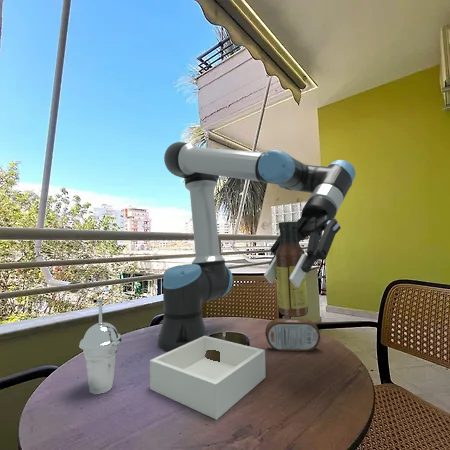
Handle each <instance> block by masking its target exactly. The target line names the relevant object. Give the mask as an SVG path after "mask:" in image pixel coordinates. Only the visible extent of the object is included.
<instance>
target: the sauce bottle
mask: <svg viewBox="0 0 450 450" xmlns="http://www.w3.org/2000/svg"><path fill="white" fill-rule="evenodd" d="M297 221H298V220H297ZM297 221H296V220H295V221H292V220H291V221H289V220H288V221H280V222H278V229H279V236H280V245H279V247H278V249H277V251H276V273H277V277H276V283H277V284H276V285H277V287H276V289H277V303H278V305H277V306H278V309H279V313H280V314H281V315H282V316H283V317H284V316H286V317H291V318H299V317H305V316H306V315H308V313H309V308H308V307H309V297H308V287H307V286H308V284H307V273H306V274H305V276H304V278H303V280H302V282H301V284H300V286H299V288H298V287H295V286H294V284H293V283H292V282H291V280H290V279H289V278H290V276H291V274H292V272H293V270H294V269H295V267H296V265H297V263H298V261H299V259H300V258H301V256H302V254H305V253H304V249H303V248H302V247H301V245H300V242H298V237H297V228H298V224H297Z"/></svg>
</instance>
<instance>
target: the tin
mask: <svg viewBox="0 0 450 450" xmlns="http://www.w3.org/2000/svg"><path fill="white" fill-rule="evenodd" d="M264 333H265V338H266V341H267V343H268V345H269V346H270V347H271V348H272V349H274V350H276V351H280V352H283V351H284V352H311V351H313V350H315V349H316V348H317V347H318V345H320V344H319V343H320V341H321V333H320V330H319V328H318V326H317V325H316V323H315V322H313V321H312V320H310V319H306V318H275V319H273V320H271V321H269V322H268V324H267V325H266V327H265V331H264Z"/></svg>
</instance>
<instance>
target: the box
mask: <svg viewBox="0 0 450 450" xmlns="http://www.w3.org/2000/svg"><path fill="white" fill-rule="evenodd" d="M207 350H216V351H219V352H220V362H218V361H213V360H210V359H207V358H206V357H205V354H206V351H207ZM266 371H267V370H266V350H265V349H263V348H258V347H253V346H249V345H244V344H241V343H236V342H232V341H228V340H224V339H222V338H221V339H220V338H216V337H212V336H209V335H208V336H203V337H200V338H198V339H196V340H194V341H192V342H189V343H187V344H185V345H183V346H180V347H178V348H176V349H174V350H172V351H169V352H168V351H166V352H165V353H163V354H161V355H159V356H158V355H157V356H156V357H154V358H152V359H150V360H149V387H150V388H149V390H151V391H153V392H155V393H158V394H159V395H162V396H164V397H166V398H169V399H170V400H172V401H175V402H177V403H179V404H182V405H184V406H186V407H188V408H189V409H192V410H195V411H197V412H199V413H201V414H203V415H205V416H208V417H210V418H212V419H214V420H216V421H218V419H219V418H220V417H222V416H223V415H224V414H225V413H226V412H227V411H229V409H231V408H232V407H233V406H235V404H236V403H238V402H239V401H241V399H242V398H244V396H246V395H247V394H248V393H249V392H251V390H253V389H254V388H256V386H257V385H258V384H260V383H261V382H262V381H263V380H265V378H266V377H267V375H266Z"/></svg>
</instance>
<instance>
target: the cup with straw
mask: <svg viewBox="0 0 450 450" xmlns="http://www.w3.org/2000/svg"><path fill="white" fill-rule="evenodd" d="M92 302H93V303H94V304H97V303H98V322H97V323H95V324H93V325H92V326H90V327H89V328H88V329H87V331H86V332H85V334H84V336H83V338H82V339H80V341H79V345H78V347H79V348H80V349H81V350H82V351H83V352H82V353H83V356H84V359H85V365H86V366H85V367H86V373H87V380H88V381H87V382H88V387H89V393H90V392H91V393H93V394H92V395H102V394H105V393H107V392H108V391H110V390H111V388H112V389H113V387H112V386H113V382H114V378H115V377H114V376H115V369H116V358H117V353H118V348H119V344H121V342H122V340H123V339H122V335H121V334H120V333H119V332H118V330H117V329H116V326H114V325H113V324H112V323H109V322H103V300H102V298H97V299H93V300H92ZM91 393H90V394H91ZM101 393H102V394H101Z"/></svg>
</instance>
